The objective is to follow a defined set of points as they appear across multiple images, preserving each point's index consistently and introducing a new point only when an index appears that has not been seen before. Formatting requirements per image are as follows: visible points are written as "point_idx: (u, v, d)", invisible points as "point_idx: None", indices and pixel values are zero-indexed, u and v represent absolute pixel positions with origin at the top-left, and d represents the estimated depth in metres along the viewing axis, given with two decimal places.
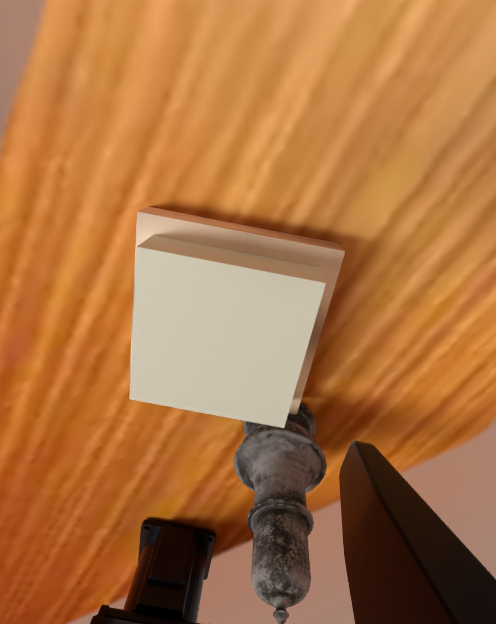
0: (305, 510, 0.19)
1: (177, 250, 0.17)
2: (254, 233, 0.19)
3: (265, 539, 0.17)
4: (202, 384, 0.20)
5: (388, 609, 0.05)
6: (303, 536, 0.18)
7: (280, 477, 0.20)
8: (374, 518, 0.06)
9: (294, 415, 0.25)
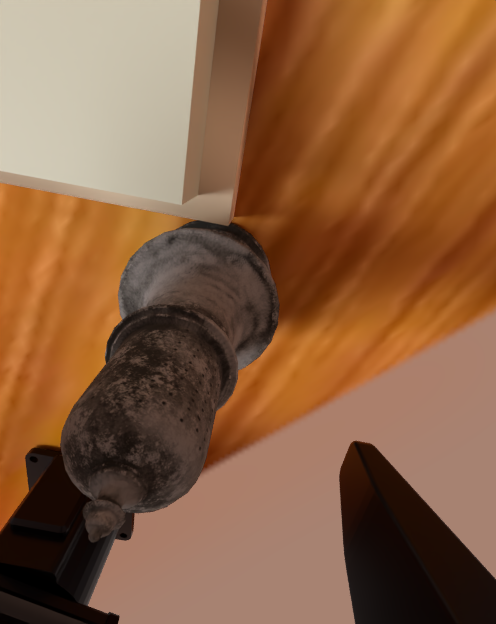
0: (217, 330, 0.09)
1: None
2: None
3: (109, 365, 0.07)
4: (7, 98, 0.10)
5: (388, 609, 0.05)
6: (202, 367, 0.08)
7: (180, 292, 0.10)
8: (374, 518, 0.06)
9: None
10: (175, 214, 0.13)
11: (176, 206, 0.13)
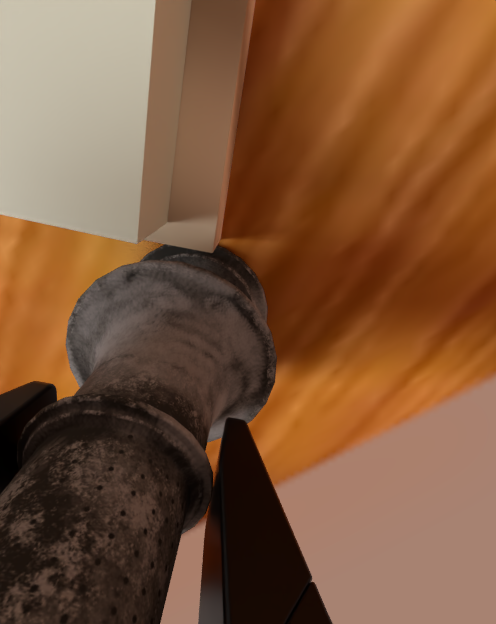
0: (178, 432, 0.06)
1: None
2: None
3: None
4: None
5: (208, 577, 0.05)
6: (146, 512, 0.05)
7: (135, 358, 0.07)
8: (215, 489, 0.06)
9: (217, 275, 0.12)
10: None
11: None
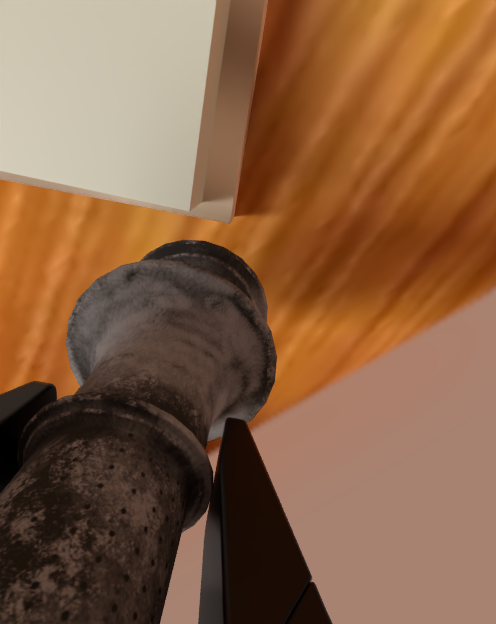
0: (178, 431, 0.06)
1: None
2: None
3: None
4: (41, 116, 0.11)
5: (208, 576, 0.05)
6: (147, 510, 0.05)
7: (135, 357, 0.07)
8: (215, 489, 0.06)
9: (217, 275, 0.12)
10: (182, 213, 0.15)
11: None
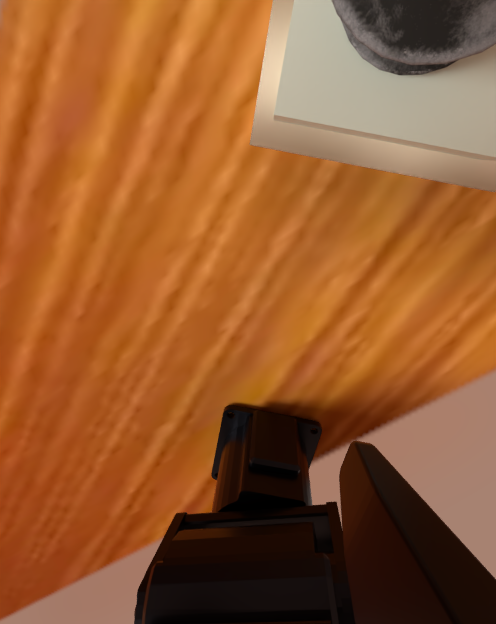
0: None
1: None
2: None
3: None
4: None
5: (388, 609, 0.05)
6: None
7: None
8: (374, 518, 0.06)
9: None
10: (450, 182, 0.16)
11: (453, 175, 0.16)
